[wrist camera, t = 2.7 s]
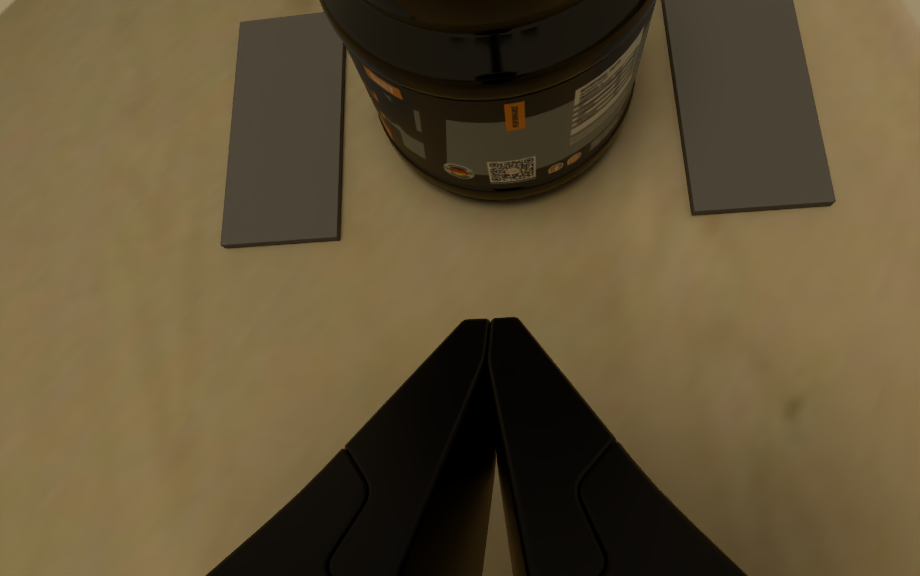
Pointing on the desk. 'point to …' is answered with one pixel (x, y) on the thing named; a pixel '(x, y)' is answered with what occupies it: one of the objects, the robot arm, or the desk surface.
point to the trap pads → (696, 92)
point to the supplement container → (496, 84)
